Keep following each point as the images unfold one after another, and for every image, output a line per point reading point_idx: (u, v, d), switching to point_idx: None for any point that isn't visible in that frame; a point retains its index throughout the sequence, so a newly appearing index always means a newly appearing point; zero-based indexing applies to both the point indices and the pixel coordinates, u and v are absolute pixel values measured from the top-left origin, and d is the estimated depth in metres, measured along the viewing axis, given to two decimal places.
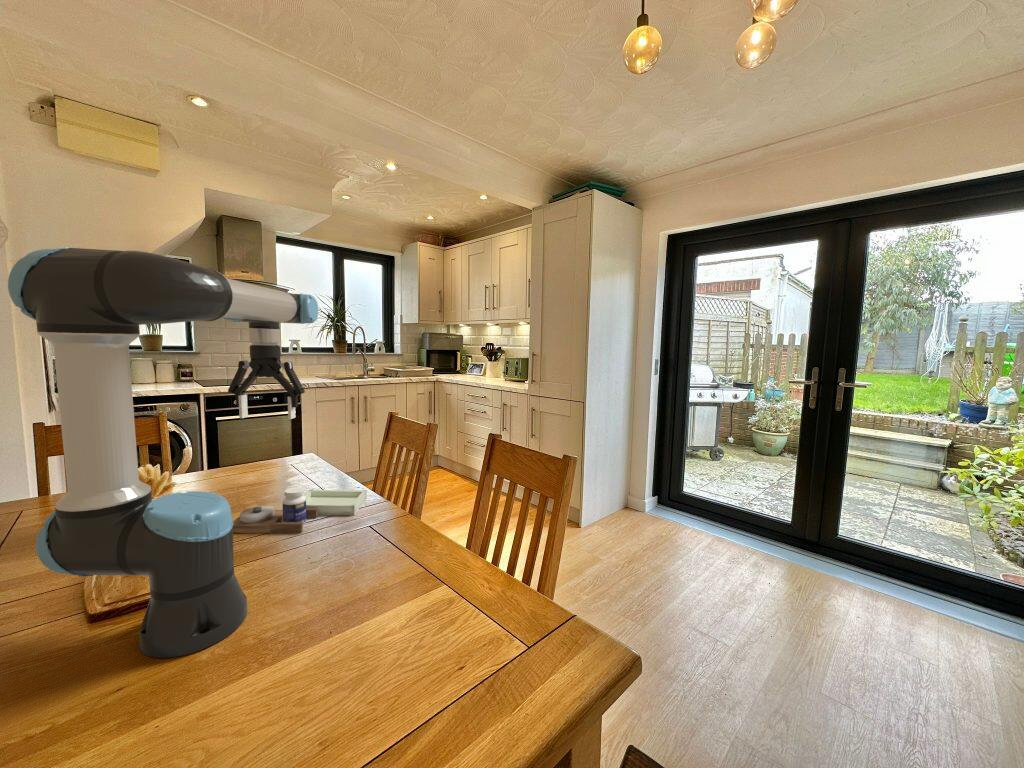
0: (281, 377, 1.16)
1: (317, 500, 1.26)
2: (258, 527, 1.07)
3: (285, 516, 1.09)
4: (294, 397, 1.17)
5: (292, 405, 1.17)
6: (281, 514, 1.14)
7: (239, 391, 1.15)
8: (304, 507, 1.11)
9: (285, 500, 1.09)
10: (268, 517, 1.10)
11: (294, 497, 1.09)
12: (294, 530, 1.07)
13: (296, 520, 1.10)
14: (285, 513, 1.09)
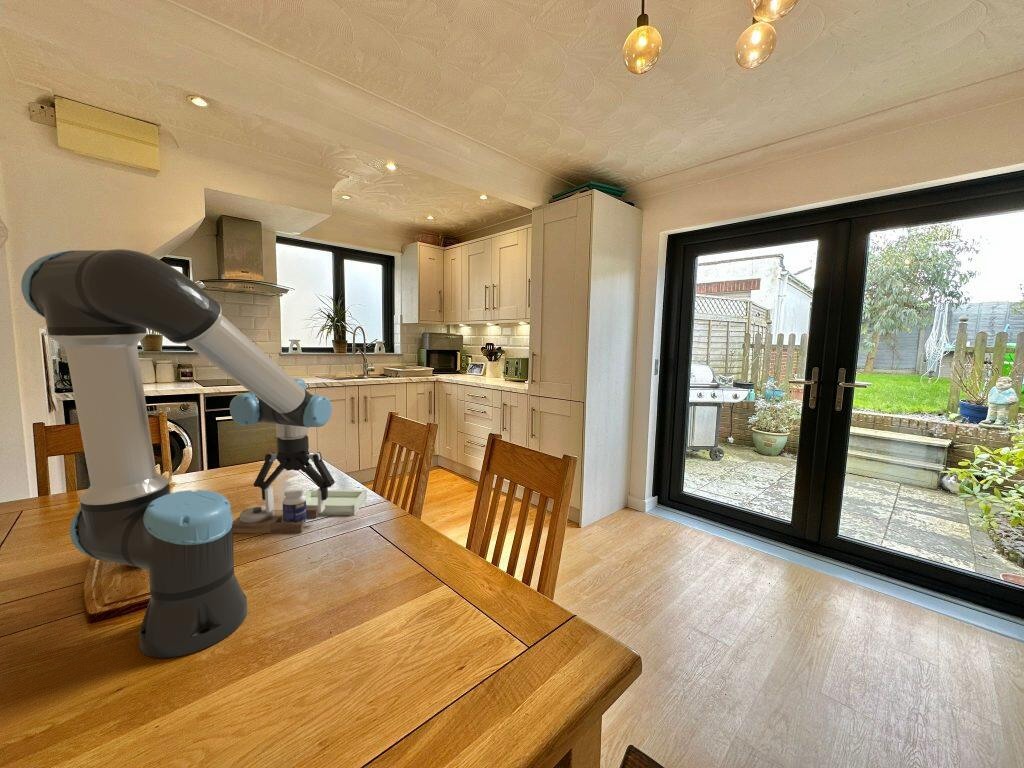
0: (310, 469, 1.10)
1: (317, 500, 1.26)
2: (258, 527, 1.07)
3: (285, 516, 1.09)
4: (324, 490, 1.11)
5: (322, 498, 1.11)
6: (281, 514, 1.14)
7: (265, 485, 1.10)
8: (304, 507, 1.11)
9: (285, 500, 1.09)
10: (268, 517, 1.10)
11: (294, 497, 1.09)
12: (294, 530, 1.07)
13: (296, 520, 1.10)
14: (285, 513, 1.09)
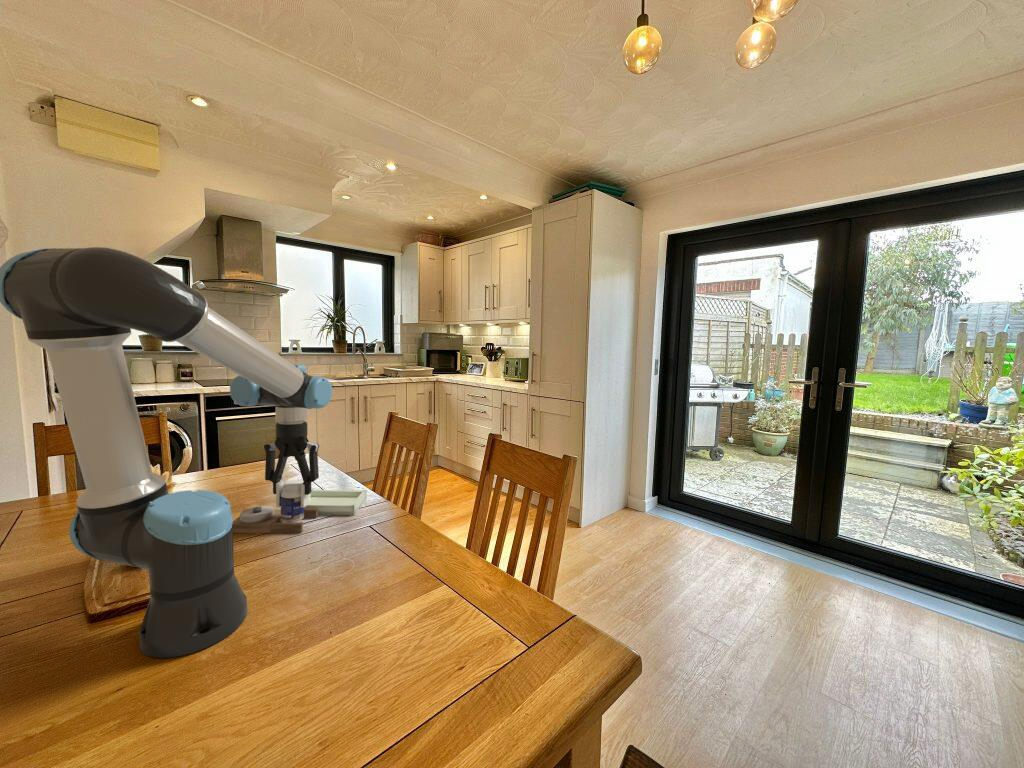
0: (302, 460, 1.09)
1: (317, 500, 1.26)
2: (258, 527, 1.07)
3: (283, 509, 1.08)
4: (307, 484, 1.10)
5: (305, 492, 1.10)
6: None
7: (276, 478, 1.09)
8: None
9: (284, 493, 1.09)
10: (268, 517, 1.10)
11: (293, 490, 1.09)
12: (294, 530, 1.07)
13: (293, 513, 1.09)
14: (283, 507, 1.08)
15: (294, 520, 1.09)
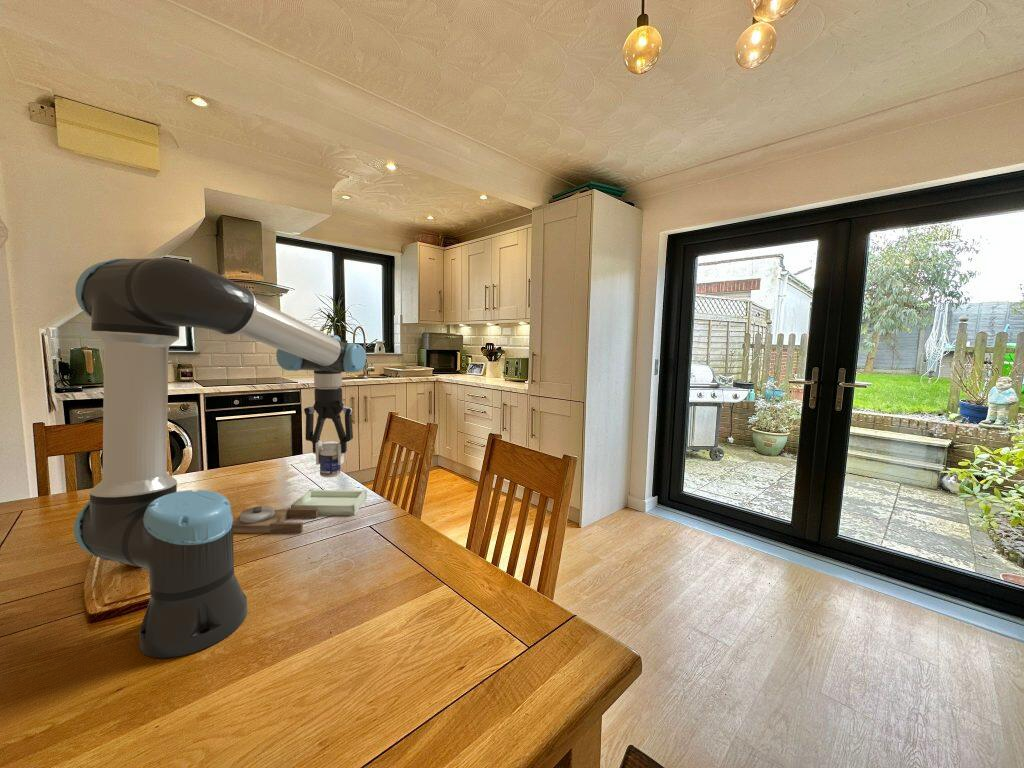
0: (339, 422, 1.21)
1: (317, 500, 1.26)
2: (258, 527, 1.07)
3: (323, 466, 1.20)
4: (343, 444, 1.22)
5: (341, 451, 1.22)
6: (281, 514, 1.14)
7: (315, 438, 1.21)
8: None
9: (323, 451, 1.21)
10: (268, 517, 1.10)
11: (331, 449, 1.21)
12: (294, 530, 1.07)
13: (332, 469, 1.21)
14: (323, 463, 1.20)
15: (332, 475, 1.21)
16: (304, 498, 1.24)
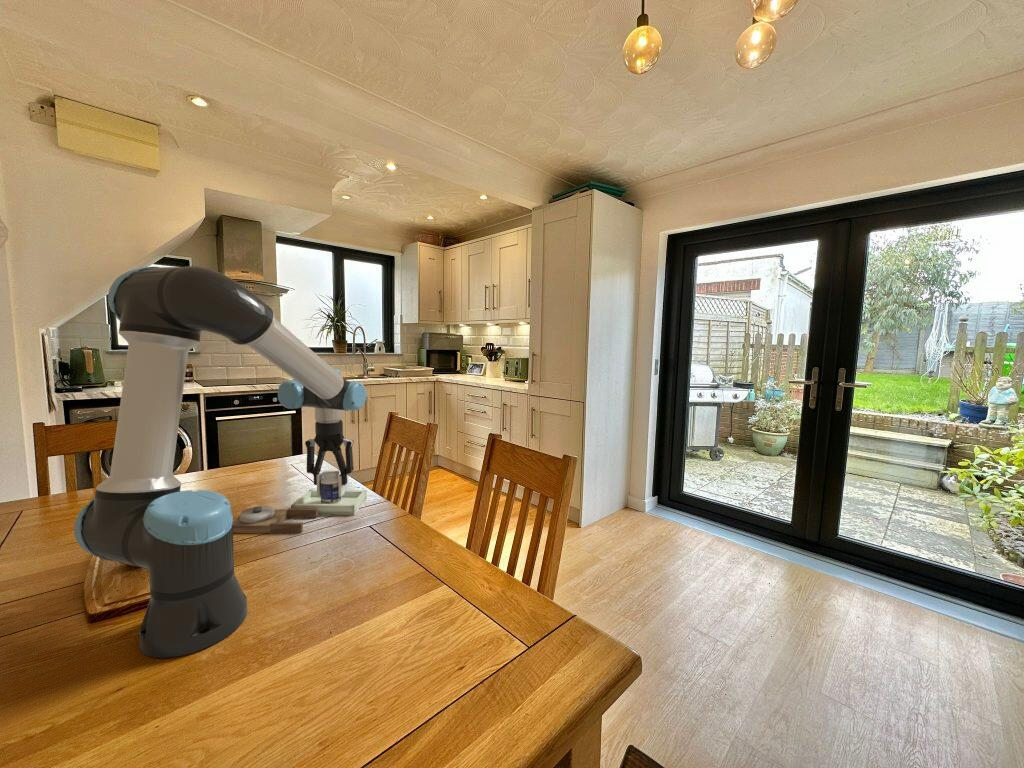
0: (339, 454, 1.22)
1: (317, 500, 1.26)
2: (258, 527, 1.07)
3: (323, 494, 1.21)
4: (344, 476, 1.23)
5: (342, 483, 1.23)
6: (281, 514, 1.14)
7: (316, 470, 1.22)
8: None
9: (323, 480, 1.22)
10: (268, 517, 1.10)
11: (332, 477, 1.22)
12: (294, 530, 1.07)
13: (332, 498, 1.22)
14: (323, 492, 1.21)
15: None
16: (304, 498, 1.24)
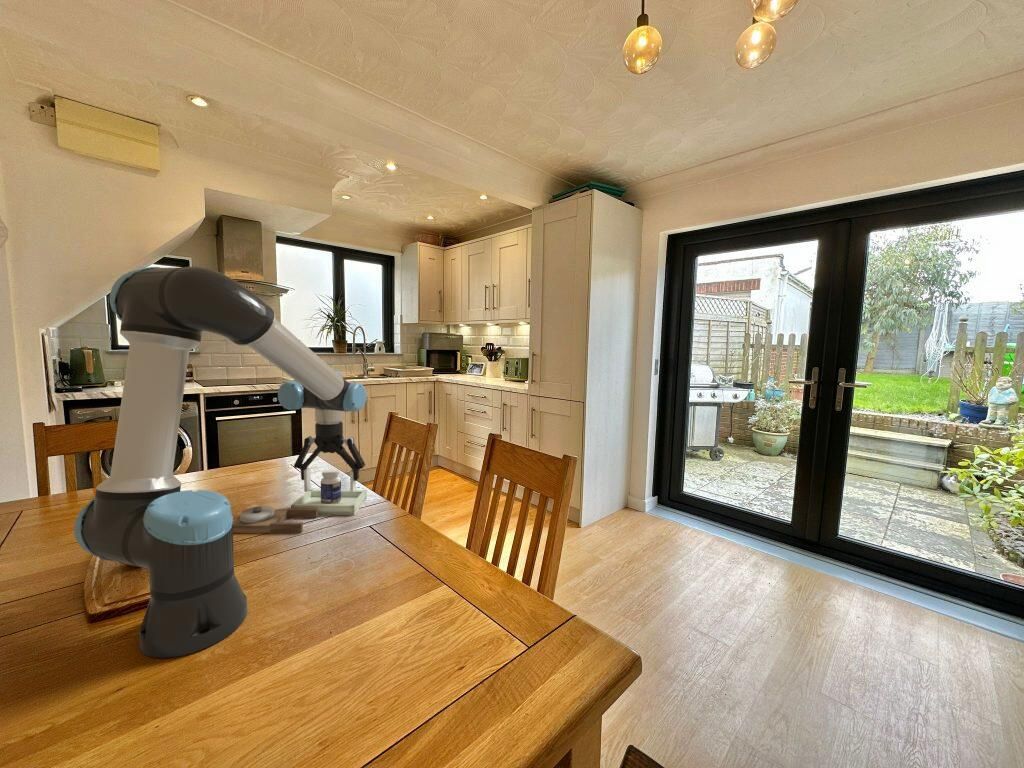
0: (344, 452, 1.22)
1: (317, 500, 1.26)
2: (258, 527, 1.07)
3: (323, 494, 1.21)
4: (356, 471, 1.23)
5: (354, 479, 1.23)
6: (281, 514, 1.14)
7: (304, 466, 1.21)
8: (339, 487, 1.24)
9: (323, 480, 1.22)
10: (268, 517, 1.10)
11: (332, 477, 1.22)
12: (294, 530, 1.07)
13: (332, 498, 1.22)
14: (323, 492, 1.21)
15: None
16: (304, 498, 1.24)
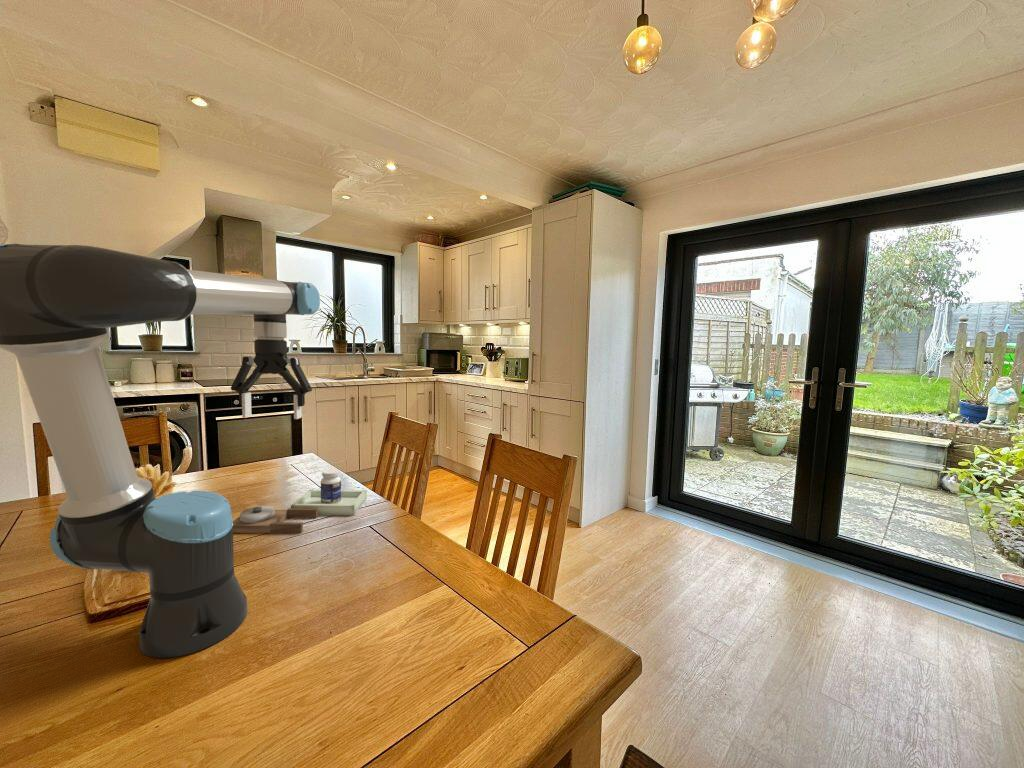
0: (287, 374, 1.09)
1: (317, 500, 1.26)
2: (258, 527, 1.07)
3: (323, 494, 1.21)
4: (300, 395, 1.09)
5: (298, 404, 1.09)
6: (281, 514, 1.14)
7: (242, 389, 1.08)
8: (339, 487, 1.24)
9: (323, 480, 1.22)
10: (268, 517, 1.10)
11: (331, 477, 1.22)
12: (294, 530, 1.07)
13: (332, 498, 1.22)
14: (323, 492, 1.21)
15: (333, 503, 1.22)
16: (304, 498, 1.24)
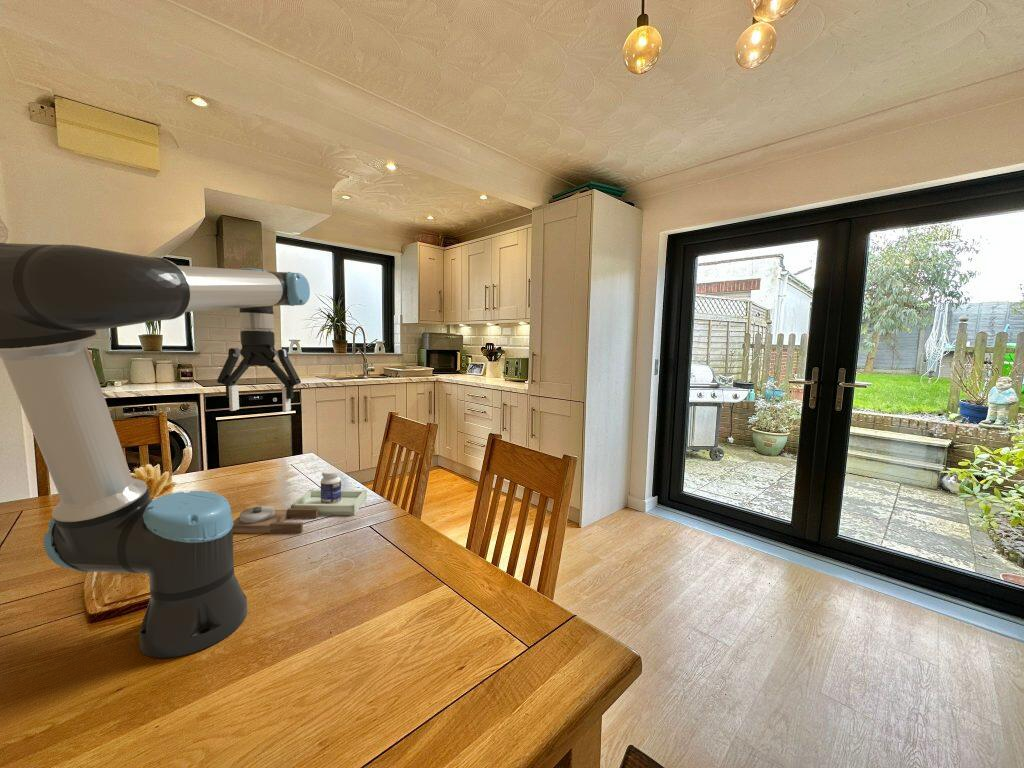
0: (275, 366, 1.07)
1: (317, 500, 1.26)
2: (258, 527, 1.07)
3: (323, 494, 1.21)
4: (289, 388, 1.07)
5: (287, 396, 1.08)
6: (281, 514, 1.14)
7: (229, 381, 1.06)
8: (339, 487, 1.24)
9: (323, 480, 1.22)
10: (268, 517, 1.10)
11: (331, 477, 1.22)
12: (294, 530, 1.07)
13: (332, 498, 1.22)
14: (323, 492, 1.21)
15: (333, 503, 1.22)
16: (304, 498, 1.24)
